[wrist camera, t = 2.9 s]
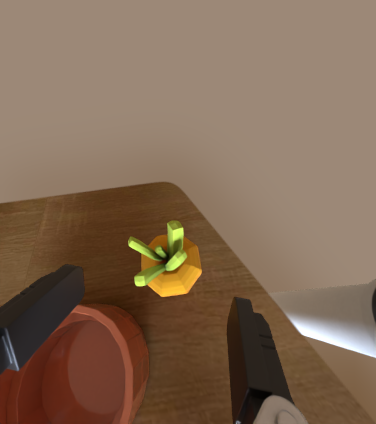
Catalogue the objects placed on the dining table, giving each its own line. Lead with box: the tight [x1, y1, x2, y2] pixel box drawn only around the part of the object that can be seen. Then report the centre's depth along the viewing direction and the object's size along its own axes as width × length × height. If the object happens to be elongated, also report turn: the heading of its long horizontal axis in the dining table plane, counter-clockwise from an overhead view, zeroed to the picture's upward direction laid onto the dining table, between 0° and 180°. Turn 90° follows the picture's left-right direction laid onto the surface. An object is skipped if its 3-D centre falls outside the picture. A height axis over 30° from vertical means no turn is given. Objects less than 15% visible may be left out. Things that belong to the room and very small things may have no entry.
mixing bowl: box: [0, 303, 149, 424], centre depth 16 cm, size 12×12×6 cm
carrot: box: [128, 221, 202, 297], centre depth 17 cm, size 5×5×15 cm
